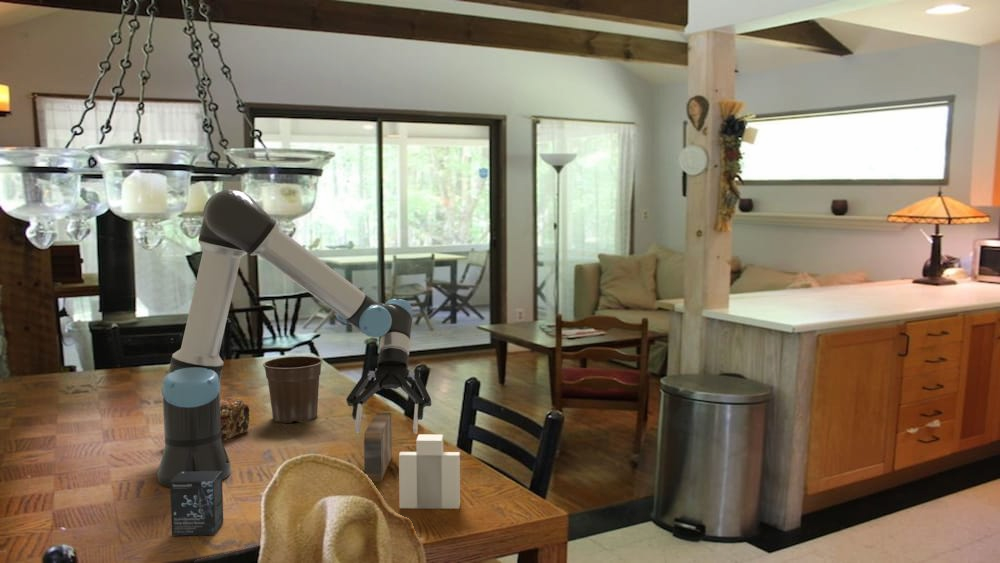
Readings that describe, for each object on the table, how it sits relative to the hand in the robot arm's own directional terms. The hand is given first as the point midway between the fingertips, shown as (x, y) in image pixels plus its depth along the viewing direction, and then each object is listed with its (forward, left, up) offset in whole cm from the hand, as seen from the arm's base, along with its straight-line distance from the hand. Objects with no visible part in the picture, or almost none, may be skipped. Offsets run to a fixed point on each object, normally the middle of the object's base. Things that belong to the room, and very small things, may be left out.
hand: (386, 431), depth 181 cm
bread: (-9, +51, -8) cm, 52 cm away
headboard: (-13, -22, -8) cm, 27 cm away
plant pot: (+16, +46, -8) cm, 49 cm away
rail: (-4, -1, -8) cm, 9 cm away
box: (-47, +7, -8) cm, 48 cm away
